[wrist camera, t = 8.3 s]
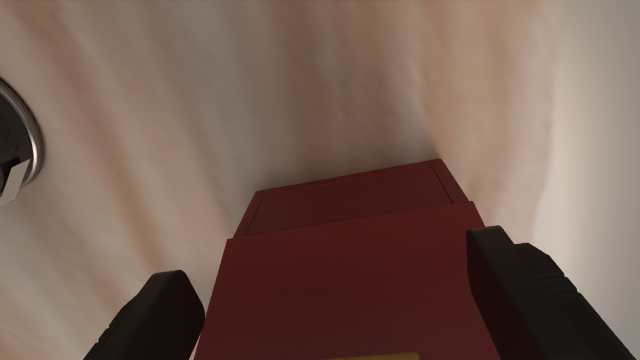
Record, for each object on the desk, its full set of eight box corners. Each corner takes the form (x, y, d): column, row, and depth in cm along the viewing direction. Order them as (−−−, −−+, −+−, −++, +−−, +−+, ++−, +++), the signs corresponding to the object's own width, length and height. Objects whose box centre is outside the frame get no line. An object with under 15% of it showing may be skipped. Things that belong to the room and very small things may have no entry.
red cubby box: (450, 276, 25) (474, 337, 20) (293, 295, 27) (282, 354, 23) (441, 157, 21) (469, 200, 16) (255, 191, 23) (231, 238, 18)
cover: (623, 531, 8) (749, 514, 5) (158, 531, 10) (20, 519, 7) (471, 210, 16) (479, 121, 13) (232, 246, 18) (186, 178, 15)
